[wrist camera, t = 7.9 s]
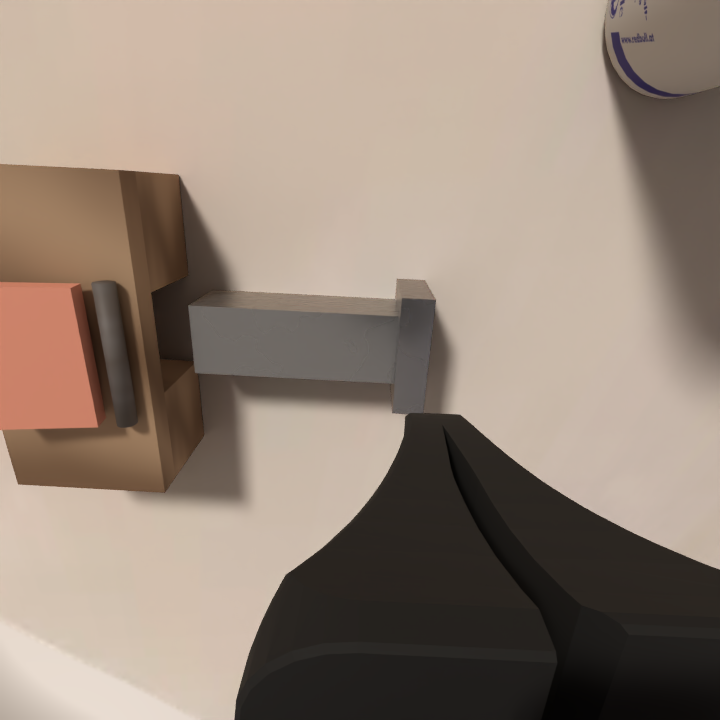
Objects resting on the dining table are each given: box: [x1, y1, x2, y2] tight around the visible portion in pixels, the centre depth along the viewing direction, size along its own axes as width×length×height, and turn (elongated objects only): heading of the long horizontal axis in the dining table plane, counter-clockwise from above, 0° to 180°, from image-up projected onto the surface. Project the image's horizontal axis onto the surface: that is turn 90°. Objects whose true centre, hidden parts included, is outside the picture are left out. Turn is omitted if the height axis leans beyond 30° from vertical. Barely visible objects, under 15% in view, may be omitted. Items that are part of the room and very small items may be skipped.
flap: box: [0, 282, 106, 430], centre depth 15 cm, size 5×1×4 cm
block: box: [0, 164, 204, 493], centre depth 17 cm, size 12×6×5 cm, turn 177°
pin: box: [188, 279, 436, 414], centre depth 18 cm, size 5×9×4 cm, turn 87°
